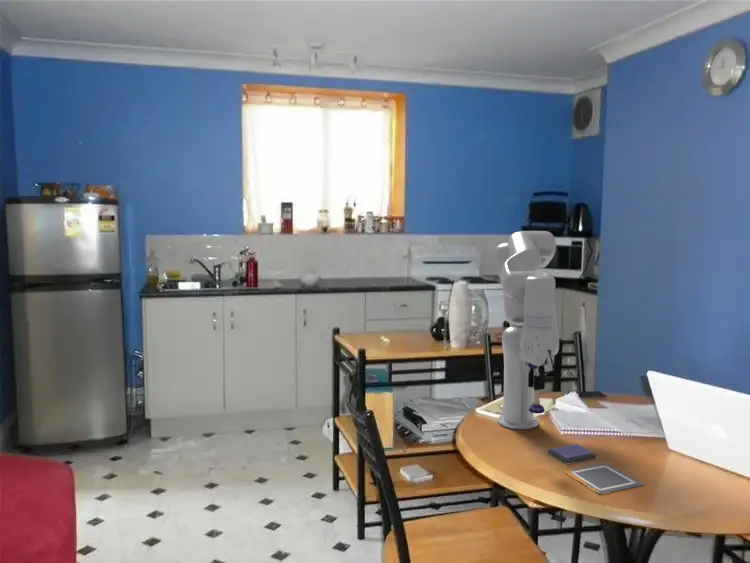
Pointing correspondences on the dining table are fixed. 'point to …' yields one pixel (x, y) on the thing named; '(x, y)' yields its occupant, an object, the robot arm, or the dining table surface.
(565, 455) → the ink pad
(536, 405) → the toy lamp
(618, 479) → the marked board
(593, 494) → the dining table surface
